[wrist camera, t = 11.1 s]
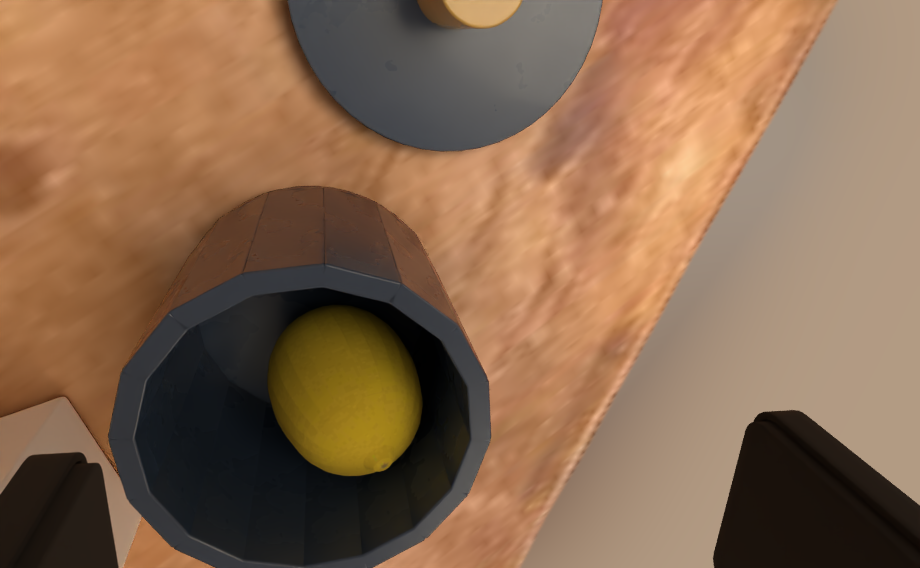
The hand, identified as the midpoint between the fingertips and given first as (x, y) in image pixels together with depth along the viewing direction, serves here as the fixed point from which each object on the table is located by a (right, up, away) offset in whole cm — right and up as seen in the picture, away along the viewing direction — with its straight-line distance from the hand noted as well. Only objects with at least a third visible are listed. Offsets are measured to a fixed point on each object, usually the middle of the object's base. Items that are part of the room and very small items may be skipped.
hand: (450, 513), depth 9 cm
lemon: (-6, +2, +18) cm, 19 cm away
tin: (-6, +2, +19) cm, 20 cm away
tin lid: (0, +14, +15) cm, 21 cm away
